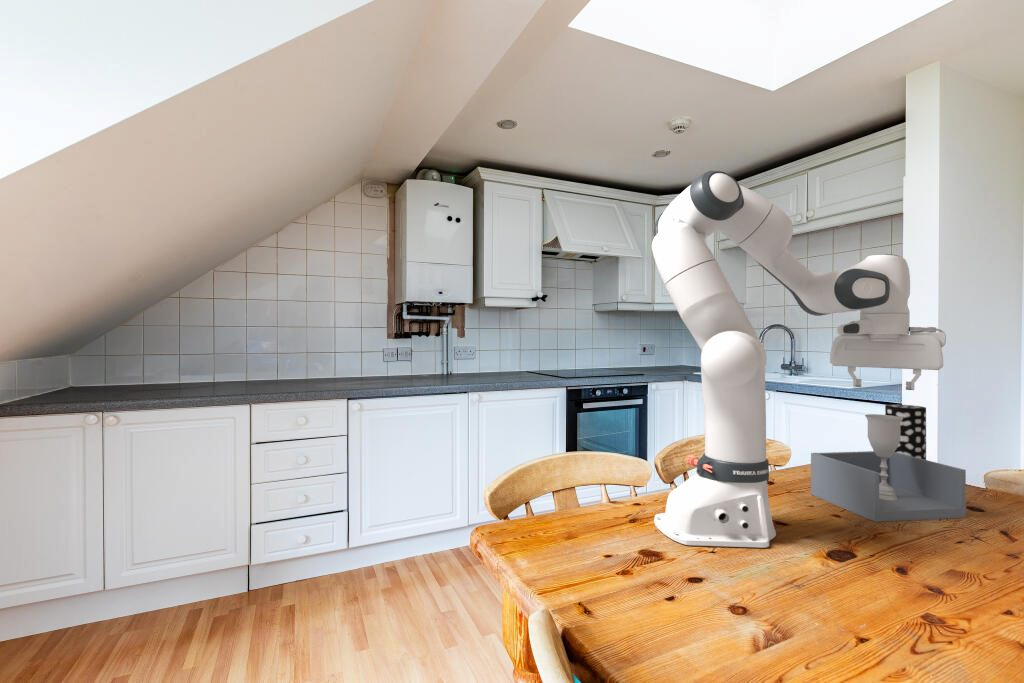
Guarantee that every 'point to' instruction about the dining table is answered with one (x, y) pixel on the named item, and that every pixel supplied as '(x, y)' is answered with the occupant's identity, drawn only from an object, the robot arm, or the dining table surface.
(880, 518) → the open gray box tray
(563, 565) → the dining table surface
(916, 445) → the white-spotted black cylinder
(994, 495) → the dining table surface
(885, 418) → the chalice
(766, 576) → the dining table surface
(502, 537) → the dining table surface
